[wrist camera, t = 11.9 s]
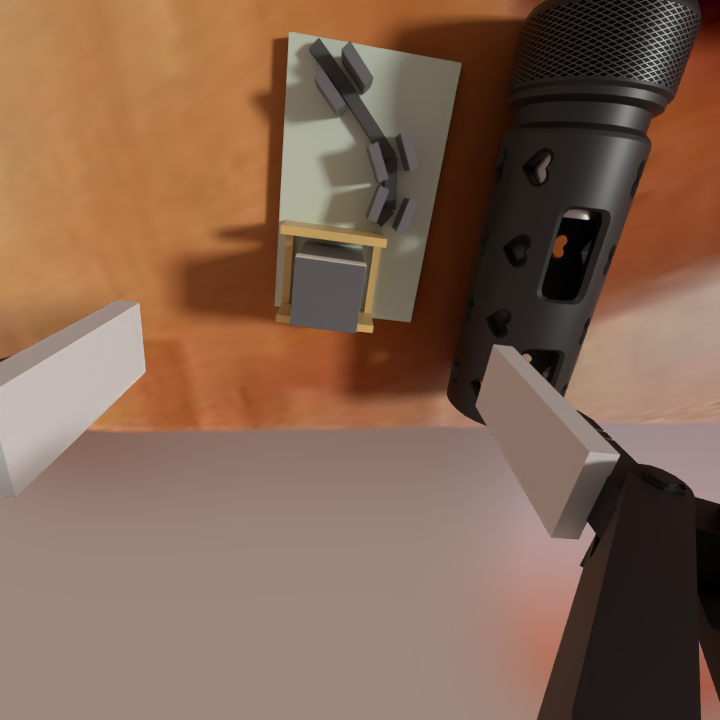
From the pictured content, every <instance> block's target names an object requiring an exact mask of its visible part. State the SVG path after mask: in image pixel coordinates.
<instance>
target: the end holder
mask: <svg viewBox="0 0 720 720" xmlns="http://www.w3.org/2000/svg"><path fill="white" fill-rule="evenodd" d="M280 234H286V241H285V258H284V274H283V291H282V303H281V305H280V307H279V309H278V311H277V313H276V321H275V322H282V323H290V317H291V305H292V301H290V296H291V281H292V267H293V252H294V238H295V236H302V237H309V238H316V239H324V240H331V241H338V242H346V243H353V244H360V245H368V246H373V250H372V257H371V264H370V271H369V278H368V284H367V291H366V298H365V305H364V310H360V312H359V319H358V325H357V331H359V332H367V333H373V327H374V325H373V321H372V316H371V311H372V305H373V298H374V292H375V285H376V279H377V272H378V266H379V259H380V253H381V247H382V248H386V245H387V238H386V237H385V236H384V234H383V233H378V232H371V231H364V230H357V229H350V228H342V227H335V226H328V225H321V224H314V223H307V222H300V221H292V220H287V221H286V222H284V223H283V224H281V230H280Z"/></svg>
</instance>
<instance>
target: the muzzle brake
mask: <svg viewBox="0 0 720 720" xmlns="http://www.w3.org/2000/svg"><path fill="white" fill-rule="evenodd" d="M700 22H701V13H700V8H699V4H698V2H697V0H539V3H538V6H536V7H535V8H534V9H533V10H532V12H531V13H530V14H529V16H528V17H527V18H526V20H525V21H524V22H523V24H522V26H521V29H520V32H519V37H518V42H517V46H516V51H515V56H514V61H513V65H512V70H511V75H510V80H509V84H508V89H507V94H506V96H507V98H508V100H509V103H508V108H509V109H510V110H511V111H512V112H514V118H513V123H512V127H511V128H510V129H509V130H508V131H506V132H505V133H504V135H503V136H502V138H501V142H500V147H499V152H498V157H497V161H496V166H495V171H494V175H493V180H492V185H491V189H490V194H489V199H488V203H487V208H486V213H485V217H484V222H483V226H482V231H481V236H480V240H479V245H478V250H477V254H476V259H475V264H474V268H473V273H472V278H471V282H470V287H469V292H468V296H467V301H466V306H465V310H464V315H463V320H462V324H461V329H460V333H459V338H458V343H457V347H456V352H455V357H454V361H453V366H452V371H451V375H450V380H449V385H448V389H447V396H448V399H449V401H450V402H451V404H452V405H453V406H454V407H455V408H456V409H457V410H458V411H460V412H461V413H462V414H464V415H465V416H467V417H469V418H470V419H472V420H474V421H476V422H478V423H481V424H483V425H486V423H485V422H484V420H483V418H482V416H481V415H480V413H479V411H478V409H477V408H476V402H477V399H478V395H479V392H480V389H481V384H480V382H483V378H484V375H485V372H486V368H487V365H488V361H489V358H490V355H491V351H492V348H493V345H494V344H495V345H503V346H512V347H514V348H515V349H516V350H517V351H518V352H519V353H520V355H521V356H522V355H523V354H529V355H530V356H531V357H532V360H531V361H530V362H529V364H530V365H531V366H532V367H533V368H534V369H535V370H536V371H537V372H538V373H539V374H540V375H541V376H542V377H543V378H544V379H545V380H546V381H547V382H548V383H549V384H550V385H551V386H552V387H553V388H554V389H555V390H556V391H557V392H558V393H559V394H560V395H561V396H562V397H563V398H564V396H565V392H566V389H567V387H568V384H569V381H570V379H571V376H572V373H573V370H574V367H575V364H576V361H577V359H578V356H579V353H580V350H581V347H582V344H583V341H584V339H585V336H586V333H587V329H588V326H589V324H590V321H591V319H592V316H593V313H594V310H595V307H596V304H597V302H598V299H599V296H600V293H601V290H602V287H603V284H604V282H605V279H606V276H607V273H608V270H609V267H610V264H611V261H612V258H613V256H614V253H615V250H616V247H617V244H618V242H619V239H620V236H621V233H622V230H623V227H624V224H625V222H626V219H627V216H628V213H629V210H630V207H631V204H632V202H633V199H634V196H635V193H636V190H637V187H638V184H639V180H640V178H641V176H642V173H643V170H644V167H645V165H646V162H647V159H648V156H649V153H650V150H651V141H650V139H649V138H648V137H647V135H646V133H647V130H648V128H649V125H650V122H651V119H652V118H654V117H656V116H658V115H660V114H662V113H663V112H664V111H665V109H666V106H667V105H668V104H669V103H670V102H671V101H672V100H673V99H674V98H675V95H676V92H677V90H678V87H679V84H680V81H681V78H682V76H683V73H684V70H685V67H686V64H687V62H688V59H689V56H690V53H691V50H692V47H693V45H694V42H695V39H696V36H697V33H698V31H699V28H700ZM561 235H565V236H566V237H567V240H568V241H567V243H566V245H565V246H564V247H563V250H564V254H563V256H562V257H556V256H554V254H553V252H552V250H553V247H554V243H555V240H556V239H557V238H558V237H559V236H561ZM545 297H547V298H545ZM486 426H487V425H486Z"/></svg>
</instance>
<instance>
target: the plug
mask: <svg viewBox="0 0 720 720" xmlns="http://www.w3.org/2000/svg"><path fill="white" fill-rule="evenodd" d="M366 266H367V265H366V263H365V262H364V258H363V254H362V250H361V249H359V248H352V247H345V246H338V245H331V244H325V243H318V242H311V241H306V242H305V244H304V245H303V247H302V248H301V250H300V251H299V253H297V254H296V256H295V268H294V280H293V292H292V305H291V317H290V325H292V326H300V327H308V328H316V329H324V330H332V331H340V332H347V333H355V334H356V332H357V325H358V319H359V312H360V306H361V299H362V293H363V286H364V280H365V273H366Z"/></svg>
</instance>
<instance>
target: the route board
mask: <svg viewBox="0 0 720 720" xmlns="http://www.w3.org/2000/svg"><path fill="white" fill-rule="evenodd" d="M318 38H320V39H321V41H322V42H323V44H324V45H325V47H326V48H327V49H328V51H329V52H330V54H331V55H332V57H333V58H334V59H335V61H336V62H337V64H338V65H339V67H340V68H341V69H342V71H343V72H344V74H345V75H346V76H347V78H348V79H349V81H350V82H351V84H352V86H353V87H354V89H355V90H356V92H357V93H358V95H359V96H360V98H361V100H362V101H363V103H364V104H365V106H366V107H367V109H368V111H369V112H370V114H371V115H372V117H373V118H374V120H375V122H376V123H377V125H378V126H379V128H380V129H381V131H382V133H383V134H384V136H385V137H386V139H387V140H388V142H389V143H390V145H391V147H392V148H393V150H394V151H395V153H396V155H395V156H393V157H392V158H394V157H397V184H396V210H391V211H392V212H393V213H394V214H393V215H392V216H391V217H390V218H389V220H388V221H387V222H386V223H385V224H384V225H383V226H382V227H381V226H380V225H379V224H378V223H377V220H378V218H379V215H380V212H381V210H382V207H383V205H384V202H385V200H386V197H387V195H388V192H389V189H386V188H384V187H383V183H384V180H386V179H389V178H388V174H387V171H386V168H385V164H384V160H383V157H382V154H381V150H380V147H379V143H378V142H376V143H374V144H372V142H371V140H370V139H369V137H368V136H367V134H366V133H365V131H364V130H363V128H362V127H361V125H360V124H359V122H358V121H357V119H356V118H355V116H354V115H353V113H352V111H351V110H350V108H349V107H348V105H347V104H346V102H345V101H344V99H343V98H342V96H341V95H340V93H339V92H338V90H337V89H336V88H335V86H334V85H333V83H332V82H331V81H330V79H329V78H328V76H327V75H326V74H325V72H324V71H323V69H322V68H321V67H320V65H319V64H318V62H317V61H316V60H315V58H314V57H313V56H312V54H311V53H310V50H309V48H310V47H311V45H312V44H313V43H314V42H315V41H316V40H317V39H318ZM461 64H462V63H460V62H454V61H449V60H443V59H438V58H432V57H427V56H421V55H416V54H410V53H405V52H399V51H394V50H388V49H383V48H377V47H372V46H366V45H361V44H355V43H351V41H349V42H344V41H339V40H333V39H327V38H322V37H316V36H311V35H305V34H300V33H294V32H289V43H288V62H287V80H286V99H285V118H284V137H283V156H282V175H281V193H280V212H279V231H278V250H277V269H276V288H275V306H278V307H280V305H281V303H282V291H283V274H284V258H285V241H286V234H280V230H281V224H283V223H284V222H286V221H287V220H292V221H300V222H307V223H314V224H321V225H328V226H335V227H342V228H350V229H357V230H364V231H371V232H378V233H383V234H384V236H385V237H386V238H387V245H386V248H382V247H381V253H380V259H379V266H378V272H377V279H376V285H375V292H374V298H373V305H372V311H371V316H372V318H378V319H386V320H394V321H403V322H411V318H412V313H413V308H414V303H415V298H416V292H417V287H418V282H419V277H420V272H421V267H422V262H423V257H424V252H425V247H426V242H427V237H428V232H429V227H430V222H431V216H432V211H433V206H434V201H435V196H436V191H437V186H438V181H439V176H440V171H441V166H442V161H443V156H444V151H445V145H446V140H447V135H448V130H449V125H450V120H451V115H452V110H453V105H454V100H455V95H456V90H457V85H458V80H459V75H460V69H461ZM306 241H311V242H318V243H325V244H331V245H338V246H345V247H352V248H359V249H361V250H362V254H363V258H364V262H365V263H366V265H367V266H366V273H365V280H364V286H363V293H362V299H361V306H360V310H364V305H365V298H366V291H367V284H368V278H369V271H370V264H371V257H372V250H373V246H368V245H360V244H353V243H346V242H338V241H331V240H324V239H316V238H309V237H302V236H295V238H294V252H293V267H292V281H291V296H290V301H292V292H293V280H294V268H295V256H296V254H297V253H299V251H300V250H301V248H302V247H303V245H304V244H305V242H306Z"/></svg>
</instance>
